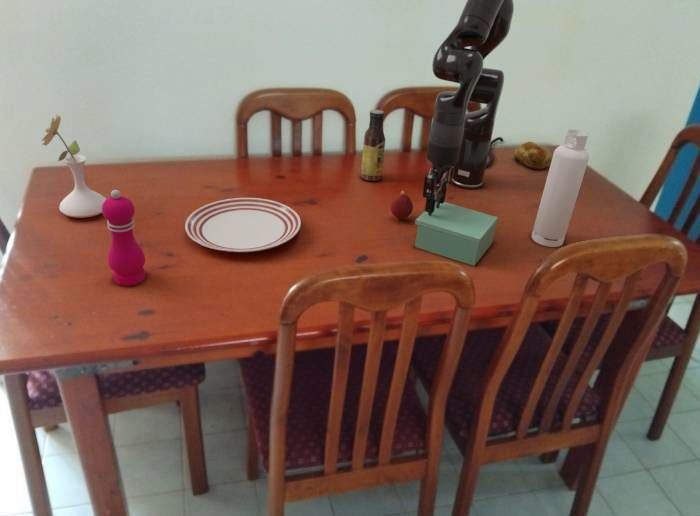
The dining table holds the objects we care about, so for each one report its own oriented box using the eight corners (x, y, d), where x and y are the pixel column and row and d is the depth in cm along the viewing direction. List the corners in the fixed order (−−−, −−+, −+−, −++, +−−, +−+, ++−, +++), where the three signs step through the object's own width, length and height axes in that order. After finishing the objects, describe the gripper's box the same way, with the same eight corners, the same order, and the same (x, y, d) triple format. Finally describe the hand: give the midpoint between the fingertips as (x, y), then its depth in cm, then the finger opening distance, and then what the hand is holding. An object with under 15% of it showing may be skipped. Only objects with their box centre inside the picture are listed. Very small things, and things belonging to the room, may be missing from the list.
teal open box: (414, 247, 146) (418, 225, 143) (436, 226, 156) (439, 205, 153) (474, 266, 141) (479, 243, 137) (492, 242, 151) (497, 221, 148)
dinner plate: (204, 271, 130) (203, 258, 129) (173, 217, 150) (172, 205, 148) (319, 249, 142) (319, 237, 140) (276, 202, 162) (276, 190, 160)
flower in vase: (82, 198, 155) (62, 101, 141) (119, 207, 153) (103, 109, 139) (45, 219, 145) (20, 116, 131) (84, 229, 142) (63, 125, 128)
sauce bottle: (379, 183, 177) (386, 116, 166) (358, 180, 178) (364, 113, 166) (382, 175, 182) (389, 109, 171) (362, 172, 183) (368, 107, 172)
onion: (414, 218, 159) (418, 190, 155) (406, 226, 155) (410, 198, 150) (393, 212, 161) (397, 185, 157) (385, 221, 157) (388, 192, 152)
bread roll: (506, 158, 202) (511, 135, 197) (528, 155, 206) (533, 132, 201) (532, 173, 192) (538, 149, 188) (554, 169, 197) (561, 145, 192)
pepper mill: (116, 268, 129) (100, 181, 118) (150, 269, 130) (138, 183, 118) (107, 287, 123) (90, 197, 112) (144, 287, 124) (130, 198, 112)
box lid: (415, 224, 143) (418, 201, 140) (436, 204, 153) (440, 182, 150) (479, 243, 137) (484, 221, 134) (497, 221, 147) (502, 200, 144)
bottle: (524, 236, 155) (552, 130, 139) (544, 229, 159) (573, 125, 144) (550, 250, 150) (582, 141, 134) (569, 242, 154) (602, 135, 138)
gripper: (449, 153, 130) (437, 222, 140) (471, 135, 141) (459, 201, 150) (417, 145, 133) (408, 213, 142) (441, 128, 144) (431, 193, 153)
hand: (434, 206), depth 146 cm, fingers closed on box lid, 6 cm apart
